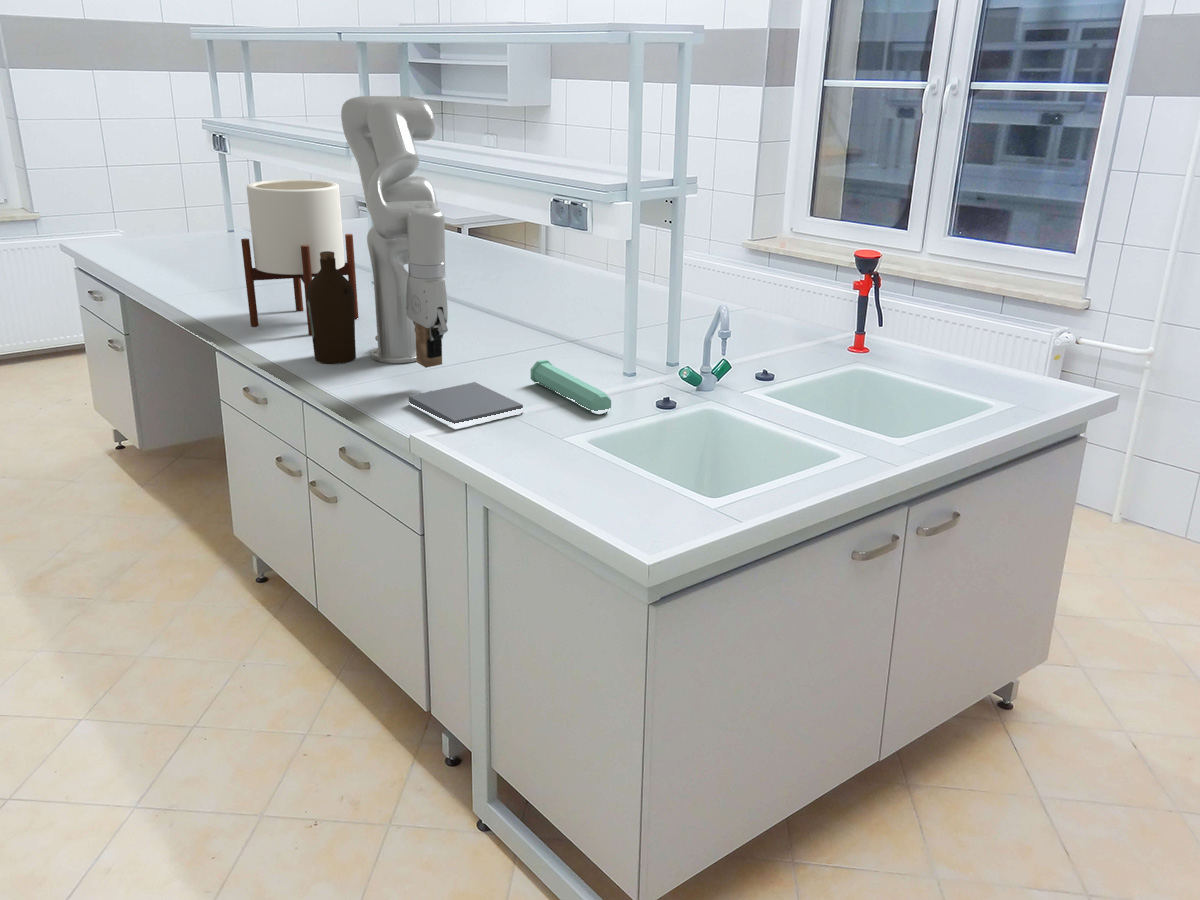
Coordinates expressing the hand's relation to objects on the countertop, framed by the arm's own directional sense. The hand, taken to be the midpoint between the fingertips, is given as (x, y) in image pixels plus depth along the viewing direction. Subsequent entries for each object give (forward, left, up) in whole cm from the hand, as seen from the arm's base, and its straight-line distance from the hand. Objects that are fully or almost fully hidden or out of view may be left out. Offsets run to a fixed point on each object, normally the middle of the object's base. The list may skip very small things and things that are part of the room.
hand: (429, 352), depth 209 cm
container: (+23, +21, -8) cm, 32 cm away
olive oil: (-32, -7, -8) cm, 33 cm away
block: (0, 0, -2) cm, 2 cm away
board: (+16, -1, -8) cm, 18 cm away
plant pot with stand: (-67, +1, -8) cm, 67 cm away
